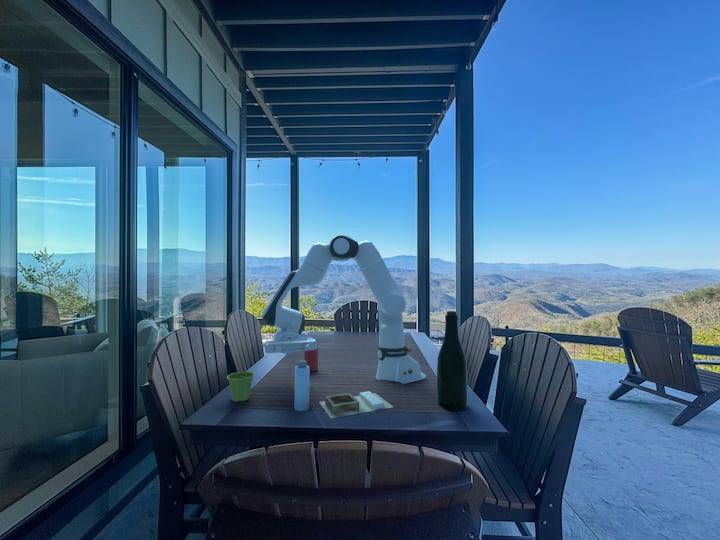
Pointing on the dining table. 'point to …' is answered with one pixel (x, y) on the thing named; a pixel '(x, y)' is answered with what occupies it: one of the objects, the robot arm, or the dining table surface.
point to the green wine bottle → (452, 368)
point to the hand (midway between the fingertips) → (294, 349)
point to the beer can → (312, 359)
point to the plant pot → (240, 385)
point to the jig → (348, 405)
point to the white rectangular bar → (372, 400)
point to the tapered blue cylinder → (301, 386)
